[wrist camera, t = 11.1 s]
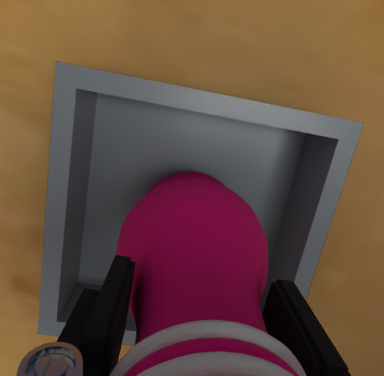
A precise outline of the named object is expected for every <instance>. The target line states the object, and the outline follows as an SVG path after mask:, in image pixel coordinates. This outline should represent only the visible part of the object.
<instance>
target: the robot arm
mask: <svg viewBox="0 0 384 376" xmlns="http://www.w3.org/2000/svg"><path fill="white" fill-rule="evenodd" d="M130 260H131V257H127V256H121V255H115V257H114V259H113V262H112V264H111V267H110V269H109V271H108V274H107V276H106V278H105V281H104V283H103V286H102V288H101V290H95V289H87V288H85V289H84V290H83V291H82V293H81V295H80V297H79V299H78V301H77V303H76V305H75V307H74V309H73V311H72V313H71V315H70V316H69V318H68V320H67V322H66V324H65V326H64V328H63V330H62V332H61V334H60V336H59V338H58V340H57V342H51V343H45V344H43V345H40V346H38V347H36V348H34V349H33V350H31V351H30V352H28V353H27V354H26V356H25V357H24V358H23V359H22V360H21V363H20V365H19V367H18V371H17V375H16V376H110V374H111V372H112V370H113V369H114V367H115V366H116V364H117V362H118V358H119V354H120V349H121V345H122V341H123V337H124V333H125V328H126V322H127V315H128V309H129V303H130V296H131V290H132V283H133V277H134V271H135V264H136V262H134V261H130ZM262 317H263V320H264V324H265V327H266V331H267V334H269V335H270V336H272V337H274V338H275V339H277V340H278V341H280V342H281V343H282V344H284V345H285V346H286V347H287V348H288V349H289V350H290V351H291V352H292V353H293V355H294V356H295V357H296V359H297V360H298V362H299V363H300V365H301V366H302V368H303V370H304V372H305V373H306V376H351V375H350V373H349V372H348V367H347V366H346V364H345V362H344V361H343V359H342V358H341V356H340V354H339V353H338V351H337V350H336V348H335V346H334V345H333V343H332V342H331V340H330V339H329V337H328V335H327V334H326V332H325V331H324V329H323V327H322V326H321V324H320V323H319V321H318V319H317V318H316V316H315V315H314V313H313V311H312V310H311V308H310V307H309V305H308V304H307V302H306V300H305V299H304V297H303V296H302V294H301V292H300V291H299V289H298V288H297V286H296V284H295V283H294V282H293V281H287V280H281V279H278V280H277V281H276V282H272V283H271V285H270V288H269V292H268V295H267V299H266V302H265V306H264V309H263V313H262Z"/></svg>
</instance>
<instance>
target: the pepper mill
mask: <svg viewBox="0 0 384 376" xmlns="http://www.w3.org/2000/svg"><path fill="white" fill-rule="evenodd" d="M116 255H121V256H127V257H131V260H130V261H134V262H136V264H135V271H134V277H133V283H132V290H131V296H130V303H129V310H130V312H131V314H132V317H133V320H134V322H135V325H136V329H137V331H136V339H135V346H134V347H133V348H132V349H131V350H129V351H128V352H127V353H126V354H125V355H124V356H123V357H122V358H121V360H120V361H119V362H118V363H117V364H116V366H115V367H114V369H113V370H112V372H111V374H110V376H306V373H305V372H304V370H303V368H302V366H301V365H300V363H299V362H298V360H297V359H296V357H295V356H294V355H293V353H292V352H291V351H290V350H289V349H288V348H287V347H286V346H285V345H284V344H282V343H281V342H280V341H278V340H277V339H275V338H274V337H272V336H270V335H269V334H267V331H266V327H265V324H264V320H263V317H262V313H261V310H260V300H261V296H262V293H263V290H264V287H265V284H266V279H267V273H268V246H267V241H266V237H265V234H264V231H263V229H262V227H261V225H260V222H259V220H258V218H257V216H256V214H255V213H254V211H253V210H252V208H251V207H250V205H249V204H248V203H247V202H246V201H245V200H244V199H243V198H242V197H240V196H239V195H238V194H236V193H235V192H234V191H232V190H231V189H229V188H227V187H226V186H225V185H224V184H223V183H222V182H220V181H219V180H217V179H216V178H214V177H212V176H210V175H207V174H204V173H200V172H194V171H185V172H179V173H174V174H172V175H169V176H166V177H164V178H162V179H161V180H159V181H158V182H156V183H155V184H154V185H153V186H152V187H151V188H150V189H149V190H148V192H147V193H146V194H145V196H143V197H142V198H141V199H140V200H139V201H138V202H137V203H136V204H135V205H134V207H133V208H132V209H131V210H130V212H129V213H128V214H127V216H126V218H125V220H124V222H123V224H122V227H121V230H120V234H119V238H118V244H117V249H116Z"/></svg>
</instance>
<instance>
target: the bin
mask: <svg viewBox="0 0 384 376" xmlns="http://www.w3.org/2000/svg"><path fill="white" fill-rule="evenodd" d="M363 124H364V123H361V122H356V121H351V120H346V119H341V118H336V117H332V116H327V115H322V114H317V113H312V112H307V111H302V110H297V109H292V108H287V107H282V106H277V105H272V104H267V103H262V102H257V101H252V100H247V99H242V98H237V97H232V96H227V95H222V94H217V93H212V92H207V91H202V90H197V89H192V88H187V87H182V86H177V85H172V84H167V83H162V82H157V81H152V80H147V79H142V78H137V77H132V76H127V75H122V74H117V73H112V72H107V71H102V70H97V69H92V68H87V67H82V66H77V65H72V64H67V63H62V62H57V61H56V65H55V80H54V95H53V110H52V125H51V140H50V155H49V170H48V185H47V200H46V215H45V230H44V245H43V260H42V275H41V291H40V306H39V321H38V334H44V335H52V336H60V334H61V332H62V330H63V328H64V326H65V324H66V322H67V320H68V318H69V316H70V315H71V313H72V311H73V309H74V307H75V305H76V303H77V301H78V299H79V297H80V295H81V293H82V291H83V290H84V289H85V288H87V289H95V290H101V288H102V286H103V283H104V281H105V278H106V276H107V274H108V271H109V269H110V267H111V264H112V262H113V259H114V257H115V255H116V249H117V244H118V238H119V234H120V230H121V227H122V224H123V222H124V220H125V218H126V216H127V214H128V213H129V212H130V210H131V209H132V208H133V207H134V205H135V204H136V203H137V202H138V201H139V200H140V199H141V198H142V197H143V196H145V194H146V193H147V192H148V190H149V189H150V188H151V187H152V186H153V185H154V184H155V183H156V182H158V181H159V180H161V179H162V178H164V177H166V176H169V175H172V174H174V173H179V172H185V171H194V172H200V173H204V174H207V175H210V176H212V177H214V178H216V179H217V180H219V181H220V182H222V183H223V184H224V185H225V186H226V187H227V188H229V189H231V190H232V191H234V192H235V193H236V194H238V195H239V196H240V197H242V198H243V199H244V200H245V201H246V202H247V203H248V204H249V205H250V207H251V208H252V210H253V211H254V213H255V214H256V216H257V218H258V220H259V222H260V225H261V227H262V229H263V231H264V234H265V237H266V241H267V246H268V273H267V279H266V284H265V287H264V290H263V293H262V296H261V300H260V310H261V313H263V309H264V306H265V302H266V299H267V295H268V292H269V288H270V285H271V283H272V282H276V281H277V280H278V279H281V280H287V281H293V282H294V283H295V284H296V286H297V288H298V289H299V291H300V292H301V294H302V296H303V297H304V299H306V296H307V293H308V290H309V287H310V284H311V281H312V278H313V275H314V272H315V269H316V266H317V263H318V260H319V257H320V254H321V251H322V248H323V245H324V242H325V239H326V236H327V233H328V230H329V227H330V224H331V221H332V218H333V215H334V212H335V209H336V206H337V203H338V200H339V197H340V194H341V191H342V188H343V185H344V182H345V179H346V176H347V173H348V169H349V166H350V163H351V160H352V157H353V154H354V151H355V148H356V145H357V142H358V139H359V136H360V133H361V130H362V127H363ZM136 331H137V329H136V325H135V322H134V320H133V317H132V314H131V312H130V310H129V309H128V315H127V322H126V328H125V333H124V337H123V341H122V344H126V345H135V339H136Z"/></svg>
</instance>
